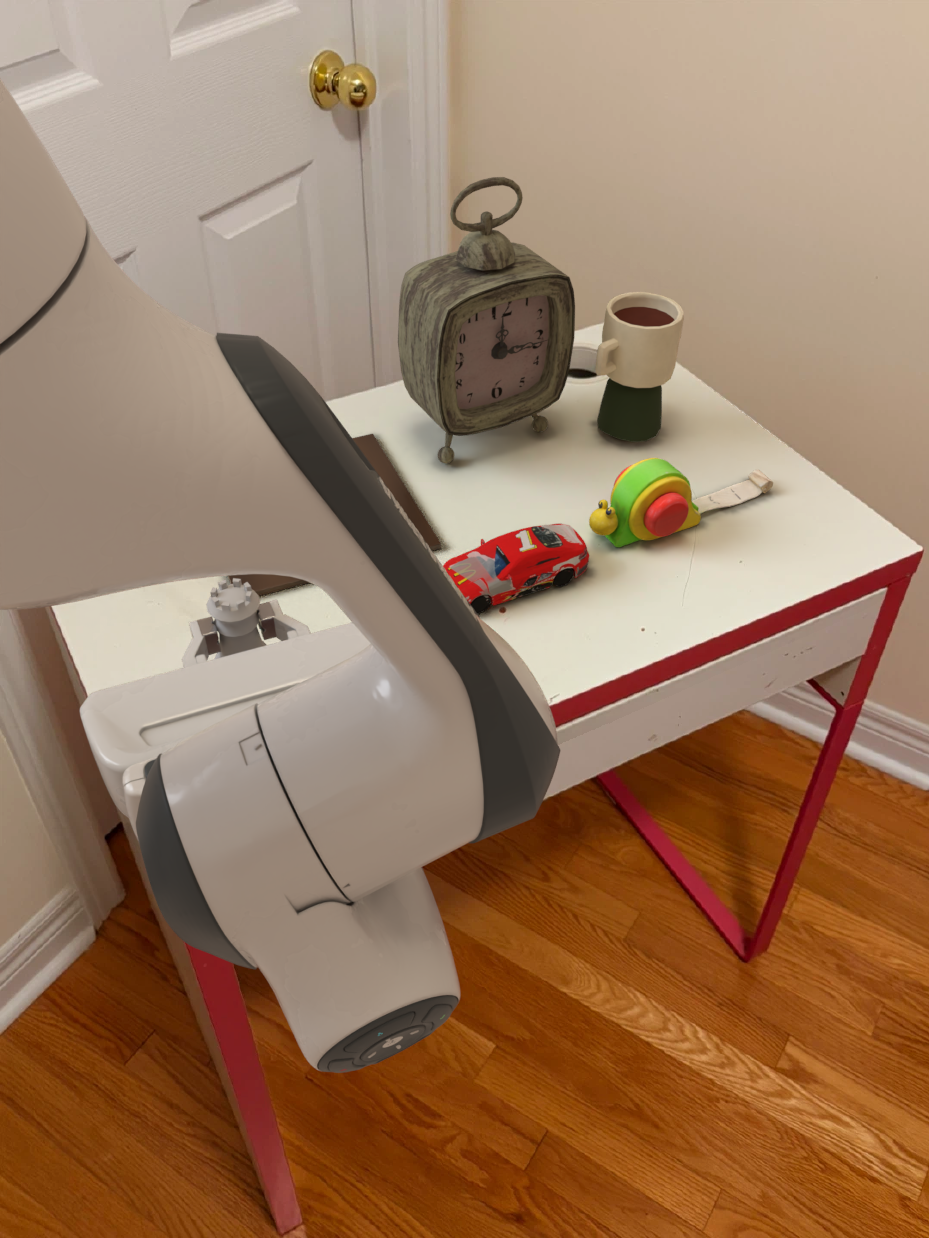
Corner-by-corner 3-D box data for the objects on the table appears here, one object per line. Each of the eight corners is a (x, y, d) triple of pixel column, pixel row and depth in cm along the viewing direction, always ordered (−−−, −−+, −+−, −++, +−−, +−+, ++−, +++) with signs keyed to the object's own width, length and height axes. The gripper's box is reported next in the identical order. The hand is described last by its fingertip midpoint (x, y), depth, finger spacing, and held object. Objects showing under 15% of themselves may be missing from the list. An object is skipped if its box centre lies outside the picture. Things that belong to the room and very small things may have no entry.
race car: (453, 624, 84) (453, 587, 82) (427, 582, 88) (426, 546, 85) (596, 579, 88) (601, 543, 85) (566, 541, 92) (569, 505, 89)
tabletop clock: (437, 478, 98) (435, 215, 81) (392, 430, 104) (381, 175, 86) (565, 435, 104) (589, 180, 86) (516, 392, 109) (529, 144, 92)
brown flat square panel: (237, 602, 86) (236, 595, 85) (190, 479, 98) (189, 473, 97) (441, 548, 91) (441, 542, 90) (373, 438, 103) (372, 432, 102)
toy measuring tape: (569, 526, 93) (575, 466, 89) (743, 468, 100) (757, 409, 95) (608, 568, 89) (617, 507, 85) (787, 505, 96) (804, 445, 91)
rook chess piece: (269, 649, 72) (254, 560, 66) (290, 692, 69) (277, 603, 63) (205, 669, 70) (185, 580, 65) (224, 714, 67) (205, 625, 62)
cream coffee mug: (641, 396, 109) (658, 278, 100) (691, 427, 105) (715, 307, 96) (563, 432, 104) (574, 311, 95) (613, 466, 100) (629, 343, 91)
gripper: (469, 689, 58) (386, 541, 68) (93, 801, 52) (57, 622, 62) (467, 760, 63) (389, 612, 72) (120, 871, 57) (82, 694, 66)
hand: (233, 617), depth 67 cm, fingers closed on rook chess piece, 3 cm apart
